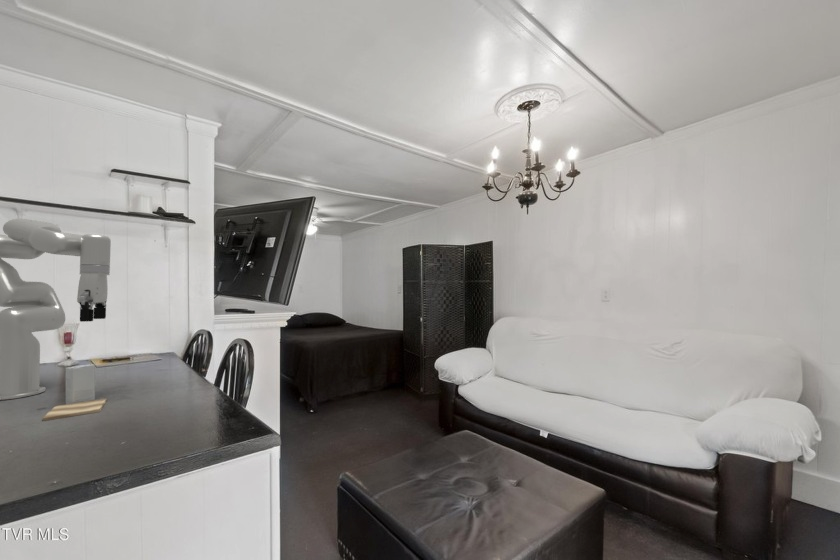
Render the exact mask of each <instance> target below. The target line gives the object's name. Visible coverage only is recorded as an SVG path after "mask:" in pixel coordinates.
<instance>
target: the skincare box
mask: <svg viewBox="0 0 840 560" xmlns="http://www.w3.org/2000/svg"><path fill="white" fill-rule="evenodd" d="M92 400H96V364H92V363H87V364H81V365H75V366H69V367H65V404H72V403H79V402H85V401H92Z"/></svg>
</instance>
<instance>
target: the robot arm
mask: <svg viewBox="0 0 840 560" xmlns="http://www.w3.org/2000/svg"><path fill="white" fill-rule="evenodd" d="M2 231H3V234H0V307H3V308H5V309H2V310H0V400H1V401H2V400H3V401H4V400H14V399H20V398H26V397H31V396H34V395H38V394H41V393H44V392H46V387H45V386H40V376H41V375H40V373H41V372H40V371H41V370H40V369H41V368H40V366H41V362H40V361H41V345H40V341H39V339H38V338H37V337H36V336H35V335H34V334H33V333H35V332H47V331H53V330H57V329H60V328H62V327H63V326H64V324H65V323H66V314H65V310H64V308H63V306H62V303H61V302H60V300H59V297H58V295H57V293H56V291H55V289H54V288H53V287H52V286H51V285H50V284H48V283H45V282H42V281H26V280H23V279H22V278H21V276H20V274H19V271H18V270H17V269H16V267H14V266H13V265H11V264H10V263H9V262H7V261H6V260H3V259H14V260H15V259H17V260H34V259H37V258H39V257H41V256H42V255H44V254H45V253H46V254H47V253H48V254H51V255H56V256H57V255H59V256H60V255H61V256H73V257H74V256H75V257H79V275H80V276H79V280H78V289H77V297H76V301H77V303H78V304H79V305H80V306H79V322H83V323H84V322H93V321H94V320H102V319H103V320H104V319H106V316H107V301H108V277H107V276H110V274H111V273H110V271H111V267H110V266H111V245H112V244H111V238H110V237H109V236H106V235H102V234H89V233H88V234H83V235H82V234H75V233H68V232H62V230H61V228H60V227H59V226H58V225H57V224H54V223H52V222H48V221H46V222H45V221H39V220H32V219H27V218H14V219H13V218H12V219H10V220H7V221H6V222H5V223H4V224H3V225H2Z"/></svg>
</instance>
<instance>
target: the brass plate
mask: <svg viewBox="0 0 840 560" xmlns="http://www.w3.org/2000/svg"><path fill="white" fill-rule="evenodd" d="M107 402H108V398H107V397H106V398H101V399H95V400H92V401H85V402H79V403H72V404H66V403H65V404H59V405H55V406H54V407H52V408H51V410H49V411H48V412H47V413H46V414H45V415H44V416H43V417H42V418H41V419H42V420H41V421H42V422H45V421H51V420H57V419H58V420H59V419H64V417H65V418H69V417H70V416H71V417H75V416H81V415H82V416H83V415H88V414H93V413H100V412H101V410H103V408H104V406H105V405H106V403H107Z"/></svg>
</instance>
